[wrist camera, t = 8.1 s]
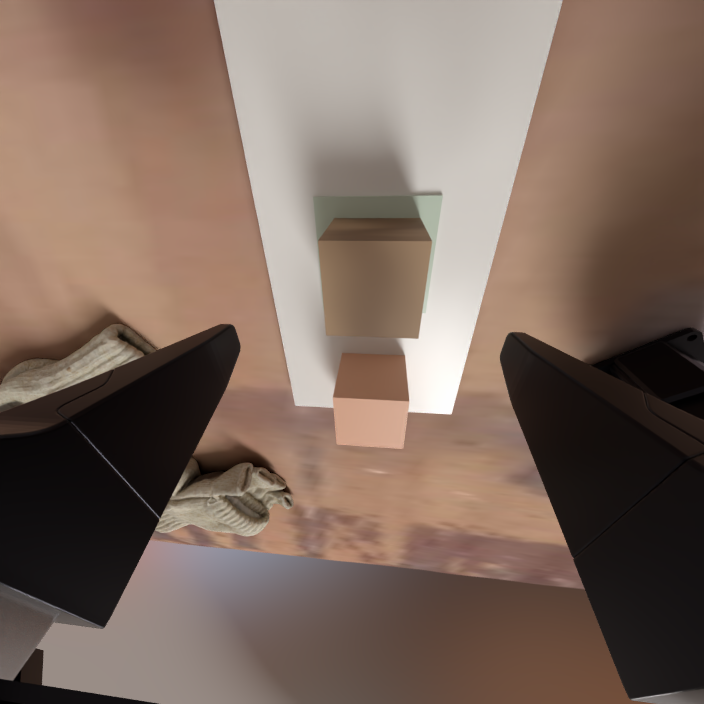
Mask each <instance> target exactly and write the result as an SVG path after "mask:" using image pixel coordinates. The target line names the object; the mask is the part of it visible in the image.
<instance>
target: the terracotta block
mask: <svg viewBox="0 0 704 704" xmlns="http://www.w3.org/2000/svg"><path fill="white" fill-rule="evenodd" d="M333 407H334V418H335V430H336V441H337V444H339V445H354V446H369V447H383V448H398V449H403V445H404V438H405V431H406V423H407V416H408V409H409V391H408V381H407V370H406V360H405V355H382V354H356V353H342V356H341V360H340V365H339V370H338V375H337V379H336V384H335V389H334V394H333Z"/></svg>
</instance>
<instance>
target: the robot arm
mask: <svg viewBox="0 0 704 704" xmlns="http://www.w3.org/2000/svg"><path fill="white" fill-rule="evenodd" d="M239 353H240V342H239V339H238V336H237V333H236V329H235V327H234V326H233V325H231V324H220V325H217V326H215V327H212V328H210V329H208V330H205V331H203V332H200V333H198V334H196V335H193V336H191V337H188V338H186V339H184V340H181V341H179V342H176V343H174V344H172V345H169V346H167V347H164V348H162V349H160V350H157V351H155V352H152V353H150V354H148V355H145V356H143V357H140V358H138V359H136V360H133V361H131V362H128V363H126V364H124V365H121V366H119V367H116V368H115V369H112V370H109V371H107V372H104V373H102V374H100V375H97V376H95V377H92V378H90V379H87V380H85V381H82V382H80V383H77V384H75V385H72V386H69V387H67V388H64V389H62V390H59V391H56V392H54V393H51V394H48V395H46V396H43V397H40V398H38V399H35V400H32V401H30V402H27V403H24V404H21V405H19V406H16V407H13V408H11V409H8V410H5V411H3V412H0V704H157V703H151V702H144V701H138V700H132V699H126V698H119V697H112V696H107V695H100V694H94V693H87V692H81V691H75V690H69V689H62V688H56V687H49V686H43V685H42V669H43V650H40V649H36V647H37V646H38V644H39V643H40V641H41V640H42V639H43V637H44V636H45V634H46V633H47V631H48V630H49V629H50V627H51V626H52V624H53V623H54V622H55V623H63V624H70V625H78V626H85V627H92V628H100V629H103V628H104V627H105V626H106V624H107V622H108V620H109V619H110V617H111V615H112V613H113V612H114V609H115V607H116V606H117V604H118V602H119V600H120V598H121V596H122V594H123V591H124V589H125V588H126V586H127V584H128V582H129V580H130V578H131V576H132V574H133V572H134V570H135V568H136V566H137V564H138V562H139V560H140V558H141V556H142V554H143V552H144V550H145V548H146V546H147V544H148V542H149V540H150V538H151V536H152V534H153V532H154V530H155V528H156V527H157V525H158V523H159V519H160V518H161V516H162V514H163V512H164V510H165V508H166V506H167V504H168V502H169V500H170V498H171V496H172V494H173V493H174V491H175V489H176V487H177V485H178V483H179V481H180V479H181V477H182V475H183V473H184V471H185V469H186V467H187V465H188V463H189V461H190V459H191V457H192V455H193V453H194V451H195V449H196V447H197V445H198V443H199V441H200V439H201V437H202V435H203V433H204V431H205V429H206V427H207V425H208V423H209V421H210V419H211V417H212V415H213V413H214V411H215V410H216V408H217V406H218V404H219V402H220V400H221V398H222V396H223V394H224V392H225V390H226V387H227V385H228V383H229V380H230V377H231V375H232V372H233V369H234V366H235V364H236V361H237V358H238V356H239ZM500 362H501V366H502V370H503V374H504V378H505V382H506V386H507V390H508V394H509V397H510V400H511V403H512V406H513V409H514V411H515V414H516V416H517V419H518V421H519V424H520V426H521V429H522V431H523V434H524V436H525V439H526V441H527V444H528V446H529V449H530V451H531V454H532V456H533V459H534V461H535V464H536V467H537V469H538V472H539V474H540V477H541V479H542V482H543V484H544V487H545V489H546V492H547V494H548V497H549V499H550V502H551V504H552V507H553V509H554V512H555V514H556V517H557V519H558V522H559V525H560V527H561V530H562V532H563V535H564V537H565V540H566V542H567V545H568V547H569V550H570V552H571V555H572V557H573V558H574V559H573V560H574V563H575V566H576V568H577V571H578V573H579V576H580V578H581V581H582V583H583V586H584V588H585V591H586V593H587V596H588V598H589V601H590V603H591V606H592V608H593V611H594V613H595V616H596V618H597V620H598V623H599V626H600V628H601V631H602V633H603V636H604V638H605V641H606V644H607V646H608V648H609V651H610V654H611V656H612V659H613V661H614V664H615V666H616V668H617V671H618V674H619V676H620V679H621V681H622V684H623V686H624V688H625V691H626V693H627V695H628V697H629V698H630V699H631V700H634V701H642V702H649V703H657V704H704V340H703V335H702V333H701V332H700V331H698V330H697V329H694V328H688V329H684V330H682V331H679V332H677V333H674V334H672V335H669V336H667V337H664V338H662V339H659V340H657V341H654V342H651V343H649V344H646V345H644V346H641V347H639V348H636V349H634V350H631V351H629V352H626V353H624V354H621V355H618V356H616V357H613V358H611V359H608V360H606V361H603V362H601V363H598V364H596V365H593V366H590V365H588V364H586V363H584V362H582V361H580V360H578V359H576V358H574V357H572V356H570V355H568V354H566V353H564V352H562V351H560V350H558V349H556V348H554V347H552V346H550V345H548V344H546V343H544V342H542V341H540V340H538V339H536V338H534V337H532V336H530V335H528V334H526V333H522V332H510V333H509V334H508V335H507V337H506V339H505V342H504V345H503V348H502V351H501V354H500Z"/></svg>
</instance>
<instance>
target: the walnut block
mask: <svg viewBox="0 0 704 704" xmlns="http://www.w3.org/2000/svg"><path fill="white" fill-rule="evenodd" d="M431 247H432V240H431V238H430V236H429V234H428V232H427V230H426V228H425V226H424V224H423V222H422V220H421V218H334V219H333V221H332V222H331V223H330V225H329V226H328V228H327V229H326V230H325V232H324V233H323V234H322V236H321V237H320V238H319V240H318V248H319V259H320V271H321V283H322V294H323V306H324V317H325V329H326V335H328V336H356V337H384V338H411V339H418V338H419V331H420V324H421V317H422V310H423V303H424V296H425V289H426V282H427V275H428V268H429V261H430V254H431Z"/></svg>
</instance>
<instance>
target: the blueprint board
mask: <svg viewBox="0 0 704 704" xmlns="http://www.w3.org/2000/svg"><path fill="white" fill-rule="evenodd" d="M562 1H563V0H214V4H215V9H216V13H217V18H218V23H219V28H220V33H221V38H222V43H223V48H224V53H225V58H226V63H227V68H228V73H229V78H230V83H231V88H232V93H233V98H234V103H235V108H236V113H237V118H238V123H239V128H240V133H241V138H242V143H243V148H244V153H245V158H246V163H247V168H248V173H249V178H250V183H251V187H252V192H253V197H254V202H255V207H256V212H257V217H258V222H259V227H260V232H261V237H262V242H263V247H264V252H265V257H266V262H267V267H268V272H269V277H270V282H271V287H272V292H273V297H274V302H275V307H276V312H277V317H278V322H279V327H280V332H281V337H282V342H283V347H284V352H285V357H286V361H287V366H288V371H289V376H290V381H291V386H292V391H293V396H294V401H295V406H312V407H330V408H334V407H333V394H334V389H335V384H336V379H337V375H338V370H339V365H340V360H341V356H342V353H356V354H382V355H405V360H406V370H407V381H408V391H409V409H408V412H419V413H437V414H451V413H452V410H453V406H454V402H455V399H456V395H457V391H458V387H459V384H460V380H461V376H462V373H463V369H464V365H465V361H466V358H467V354H468V350H469V347H470V343H471V339H472V335H473V332H474V328H475V324H476V321H477V317H478V313H479V309H480V306H481V302H482V298H483V295H484V291H485V287H486V283H487V280H488V276H489V272H490V269H491V265H492V261H493V257H494V254H495V250H496V246H497V243H498V239H499V235H500V231H501V228H502V224H503V220H504V217H505V213H506V209H507V205H508V202H509V198H510V194H511V191H512V187H513V183H514V179H515V176H516V172H517V168H518V165H519V161H520V157H521V153H522V150H523V146H524V142H525V139H526V135H527V131H528V127H529V124H530V120H531V116H532V113H533V109H534V105H535V101H536V98H537V94H538V90H539V87H540V83H541V79H542V75H543V72H544V68H545V64H546V61H547V57H548V53H549V49H550V46H551V42H552V38H553V35H554V31H555V27H556V23H557V20H558V16H559V12H560V9H561V5H562ZM334 218H421V220H422V222H423V224H424V226H425V228H426V230H427V232H428V234H429V236H430V238H431V240H432V247H431V254H430V261H429V268H428V275H427V282H426V289H425V296H424V303H423V310H422V317H421V324H420V331H419V338H418V339H411V338H384V337H356V336H328V335H326V329H325V317H324V306H323V294H322V283H321V271H320V259H319V248H318V240H319V238H320V237H321V236H322V234H323V233H324V232H325V230H326V229H327V228H328V226H329V225H330V223H331V222H332V221H333V219H334Z"/></svg>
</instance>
